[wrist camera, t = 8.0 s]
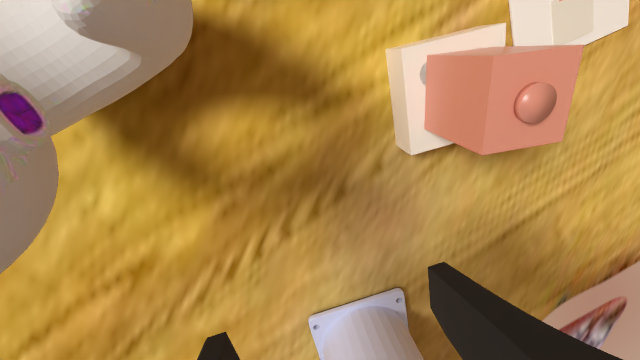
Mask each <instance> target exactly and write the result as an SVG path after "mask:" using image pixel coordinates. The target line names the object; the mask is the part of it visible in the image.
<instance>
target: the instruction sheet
mask: <svg viewBox="0 0 640 360" xmlns="http://www.w3.org/2000/svg"><path fill="white" fill-rule="evenodd" d="M509 10H510V19H511V29H512V39H513V46H543V45H587V44H589V43H591V42H593V41H595V40H597V39H600V38H602V37H604V36H606V35H608V34H610V33H613V32H615V31H617V30H619V29H621V28H623V27H626V26H628V14H629V0H509Z"/></svg>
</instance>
